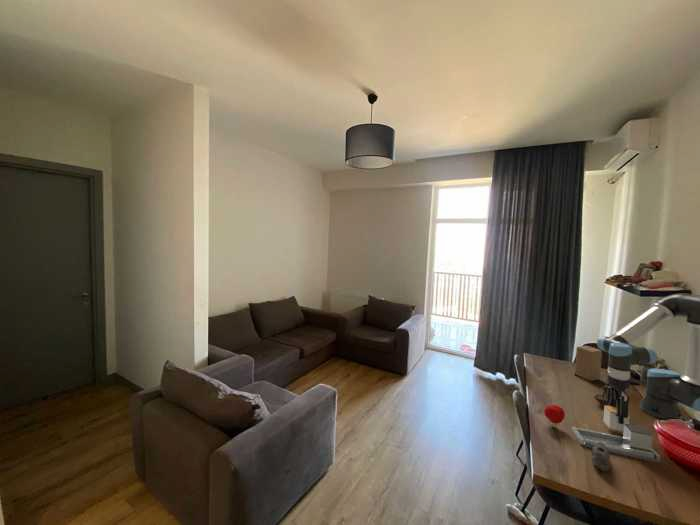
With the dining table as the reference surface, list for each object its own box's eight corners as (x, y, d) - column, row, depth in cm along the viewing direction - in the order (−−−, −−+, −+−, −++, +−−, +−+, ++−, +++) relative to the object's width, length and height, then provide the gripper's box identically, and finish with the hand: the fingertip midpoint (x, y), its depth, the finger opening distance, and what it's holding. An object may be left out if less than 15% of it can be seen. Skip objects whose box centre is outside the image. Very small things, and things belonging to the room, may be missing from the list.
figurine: (593, 406, 155) (594, 384, 154) (593, 400, 161) (595, 380, 160) (617, 413, 148) (619, 391, 148) (617, 407, 154) (619, 386, 154)
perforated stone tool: (592, 449, 121) (593, 434, 120) (608, 456, 117) (610, 440, 117) (590, 469, 110) (591, 452, 109) (608, 477, 106) (610, 459, 106)
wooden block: (573, 375, 194) (576, 346, 193) (584, 373, 197) (586, 345, 196) (589, 381, 185) (592, 351, 183) (600, 380, 188) (603, 350, 186)
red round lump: (552, 433, 131) (554, 412, 130) (538, 423, 138) (540, 403, 137) (568, 430, 133) (569, 409, 133) (553, 421, 140) (555, 401, 140)
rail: (643, 446, 124) (645, 424, 123) (659, 462, 114) (661, 439, 114) (571, 431, 132) (573, 411, 132) (581, 445, 123) (582, 423, 122)
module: (621, 424, 135) (622, 407, 134) (628, 431, 130) (629, 414, 129) (603, 421, 137) (604, 405, 137) (609, 428, 132) (610, 411, 131)
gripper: (598, 367, 142) (596, 412, 143) (619, 384, 124) (616, 435, 126) (617, 370, 139) (614, 415, 141) (641, 387, 122) (637, 439, 123)
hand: (615, 425), depth 133 cm, fingers closed on module, 5 cm apart
